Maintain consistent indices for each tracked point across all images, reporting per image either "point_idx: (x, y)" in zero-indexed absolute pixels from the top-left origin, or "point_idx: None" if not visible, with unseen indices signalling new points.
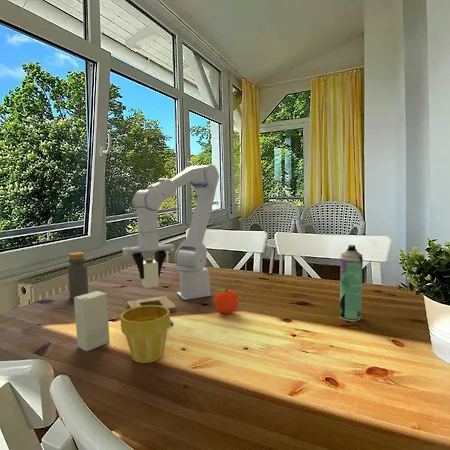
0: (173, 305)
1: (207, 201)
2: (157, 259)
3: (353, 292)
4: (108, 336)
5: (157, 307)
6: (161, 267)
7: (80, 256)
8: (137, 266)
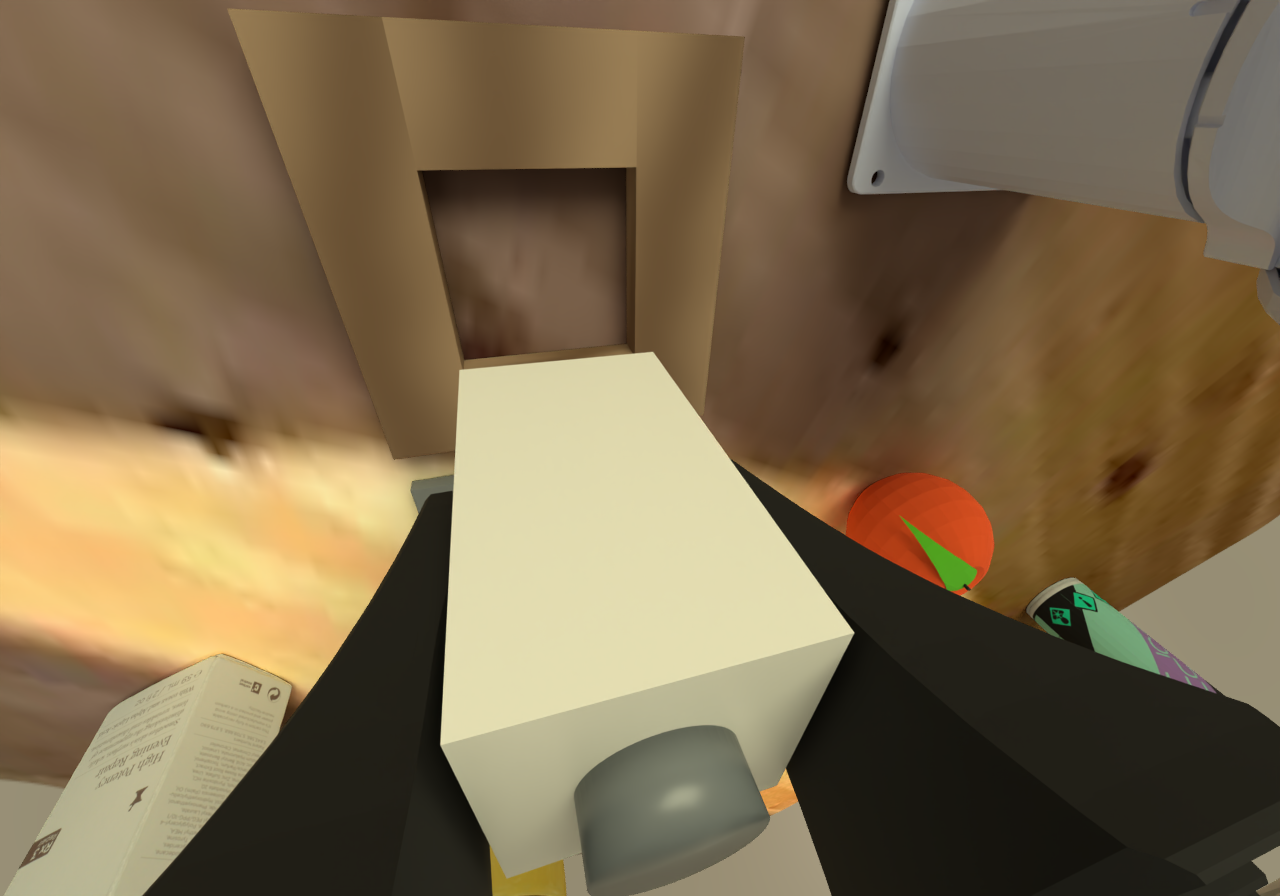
0: (699, 380)
1: None
2: (834, 810)
3: None
4: (279, 719)
5: (526, 886)
6: None
7: None
8: (334, 687)
